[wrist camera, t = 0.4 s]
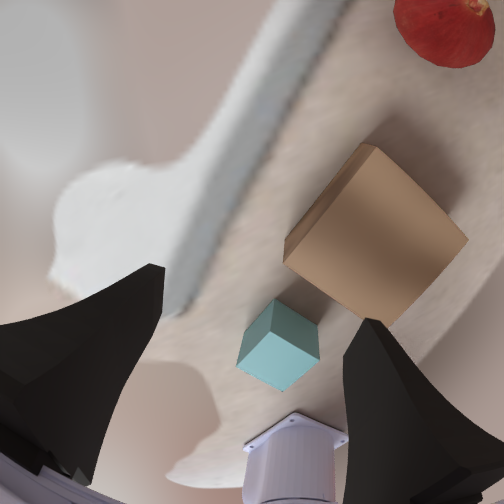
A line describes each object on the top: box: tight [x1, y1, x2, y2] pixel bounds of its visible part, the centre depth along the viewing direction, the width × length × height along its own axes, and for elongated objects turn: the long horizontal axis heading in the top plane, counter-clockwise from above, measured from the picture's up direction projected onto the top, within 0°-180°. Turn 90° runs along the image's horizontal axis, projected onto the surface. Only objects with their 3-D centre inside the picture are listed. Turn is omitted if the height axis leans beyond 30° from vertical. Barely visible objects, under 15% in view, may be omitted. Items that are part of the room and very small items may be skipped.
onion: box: [393, 0, 495, 68], centre depth 10 cm, size 6×6×8 cm
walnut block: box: [283, 143, 469, 328], centre depth 18 cm, size 8×8×4 cm
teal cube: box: [236, 298, 320, 392], centre depth 22 cm, size 4×4×4 cm
